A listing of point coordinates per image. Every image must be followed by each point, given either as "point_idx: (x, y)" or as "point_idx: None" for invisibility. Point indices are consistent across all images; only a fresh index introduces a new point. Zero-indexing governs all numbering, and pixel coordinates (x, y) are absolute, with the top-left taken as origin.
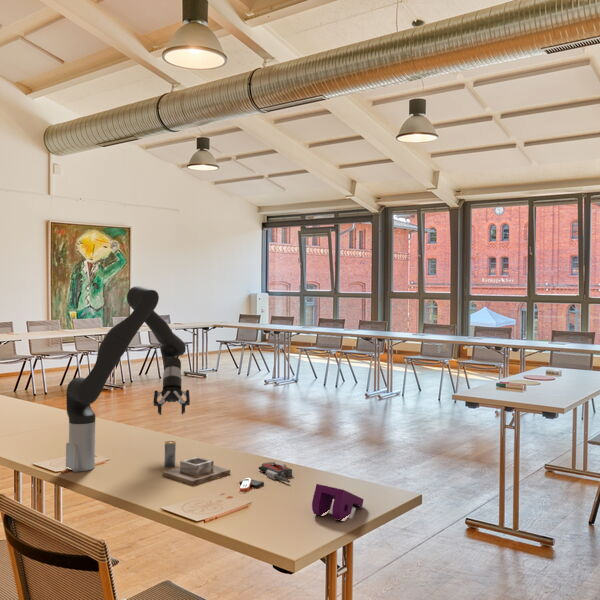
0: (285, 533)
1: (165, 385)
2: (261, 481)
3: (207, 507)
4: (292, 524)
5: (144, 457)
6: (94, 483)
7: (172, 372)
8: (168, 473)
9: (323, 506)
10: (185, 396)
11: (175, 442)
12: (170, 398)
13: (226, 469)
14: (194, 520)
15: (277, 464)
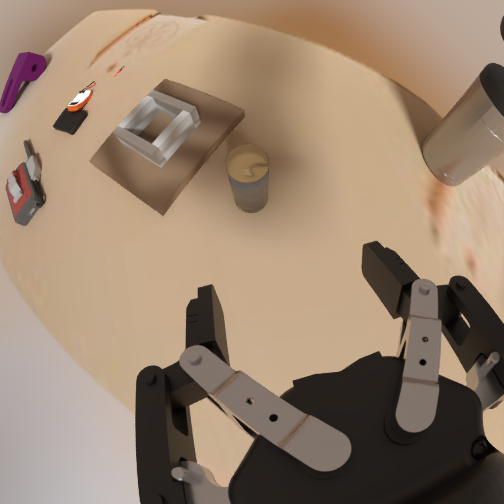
0: (84, 31)
1: (499, 458)
2: (55, 125)
3: (145, 35)
4: (71, 45)
5: (359, 277)
6: (362, 75)
7: None
8: (225, 102)
9: (35, 66)
10: (196, 464)
11: (225, 162)
12: (355, 370)
13: (96, 161)
14: (161, 13)
15: (14, 176)
